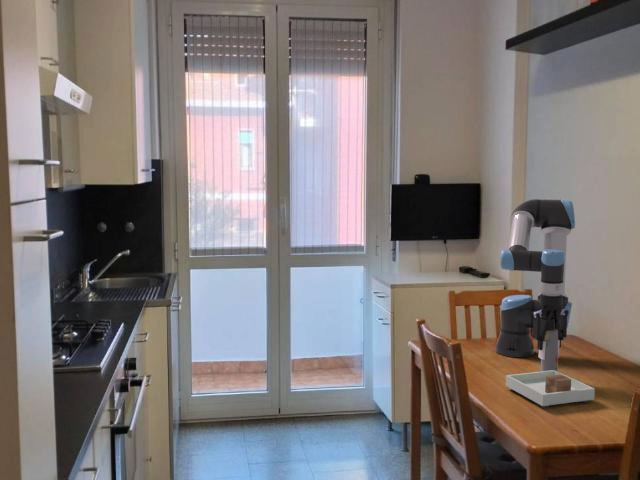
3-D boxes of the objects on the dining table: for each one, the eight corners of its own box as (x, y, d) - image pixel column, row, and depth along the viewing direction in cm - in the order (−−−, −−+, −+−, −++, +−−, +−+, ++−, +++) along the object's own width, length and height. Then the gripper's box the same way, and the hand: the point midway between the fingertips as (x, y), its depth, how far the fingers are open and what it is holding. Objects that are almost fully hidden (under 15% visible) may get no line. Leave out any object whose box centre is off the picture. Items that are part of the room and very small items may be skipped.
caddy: (505, 388, 222) (505, 375, 221) (553, 383, 228) (554, 370, 227) (542, 409, 203) (542, 394, 202) (594, 403, 209) (594, 388, 208)
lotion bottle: (557, 368, 235) (558, 314, 232) (557, 374, 230) (558, 319, 227) (540, 367, 237) (541, 314, 234) (540, 373, 232) (540, 318, 229)
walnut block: (545, 392, 213) (545, 375, 212) (559, 390, 214) (560, 374, 214) (556, 397, 207) (556, 381, 207) (570, 396, 209) (571, 379, 208)
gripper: (536, 297, 223) (533, 363, 226) (580, 294, 229) (577, 358, 232) (522, 293, 230) (520, 357, 233) (566, 289, 236) (563, 352, 239)
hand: (548, 357), depth 233 cm, fingers closed on lotion bottle, 5 cm apart
